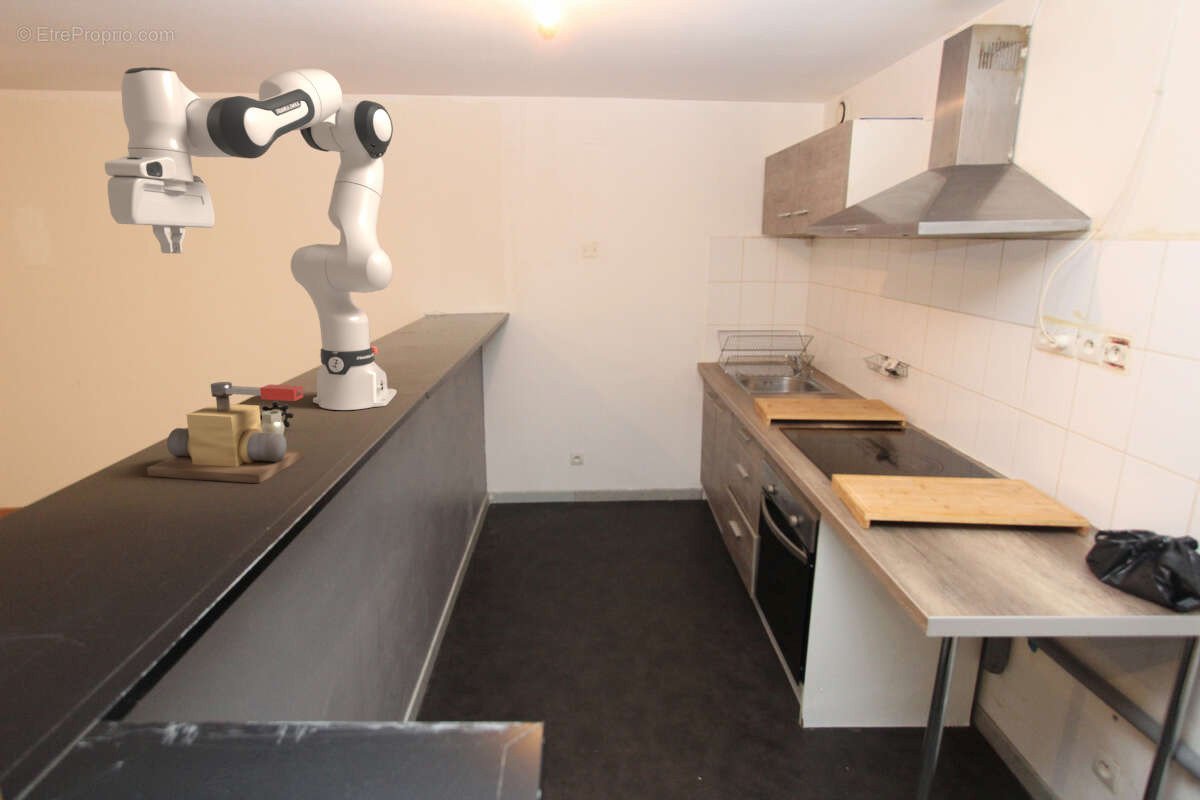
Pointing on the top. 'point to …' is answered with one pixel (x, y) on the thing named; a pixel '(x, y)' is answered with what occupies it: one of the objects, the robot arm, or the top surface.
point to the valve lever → (258, 391)
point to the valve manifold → (225, 446)
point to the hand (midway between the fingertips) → (172, 253)
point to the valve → (275, 418)
